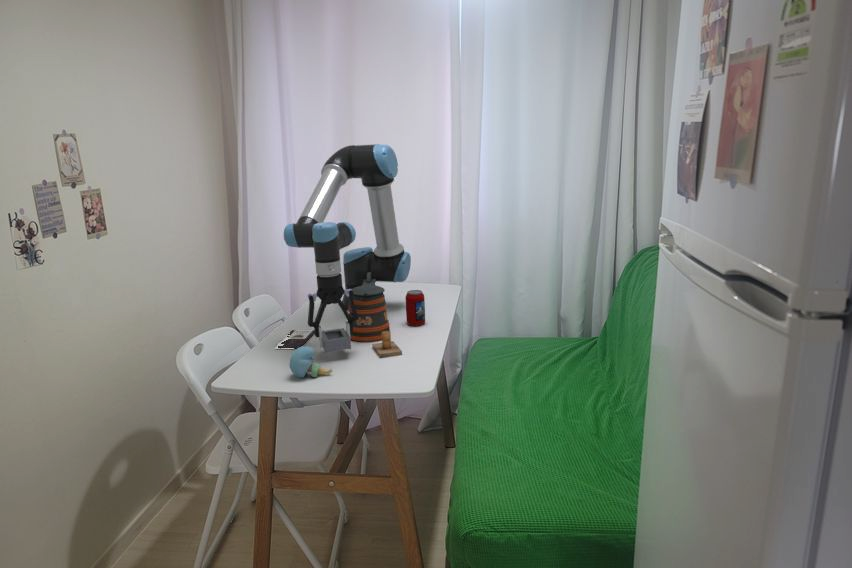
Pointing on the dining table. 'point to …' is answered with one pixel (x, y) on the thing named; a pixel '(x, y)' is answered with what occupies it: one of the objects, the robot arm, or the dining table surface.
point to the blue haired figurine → (305, 363)
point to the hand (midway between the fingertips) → (335, 344)
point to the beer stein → (369, 312)
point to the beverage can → (415, 307)
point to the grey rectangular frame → (335, 340)
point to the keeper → (386, 346)
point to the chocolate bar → (297, 338)
